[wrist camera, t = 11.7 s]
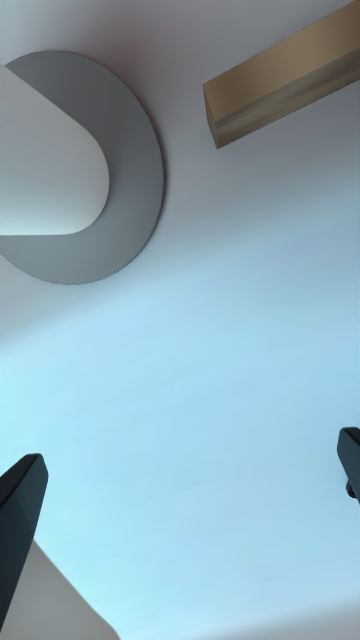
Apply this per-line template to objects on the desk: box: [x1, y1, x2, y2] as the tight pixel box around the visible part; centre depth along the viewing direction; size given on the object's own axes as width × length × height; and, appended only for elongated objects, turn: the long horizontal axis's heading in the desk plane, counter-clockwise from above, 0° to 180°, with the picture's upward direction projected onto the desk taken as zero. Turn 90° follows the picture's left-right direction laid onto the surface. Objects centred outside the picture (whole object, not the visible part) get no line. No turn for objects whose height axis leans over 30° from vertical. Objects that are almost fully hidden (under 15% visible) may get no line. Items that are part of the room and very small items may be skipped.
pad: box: [0, 51, 164, 285], centre depth 19 cm, size 13×13×1 cm
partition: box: [203, 0, 360, 149], centre depth 13 cm, size 14×2×4 cm, turn 113°
